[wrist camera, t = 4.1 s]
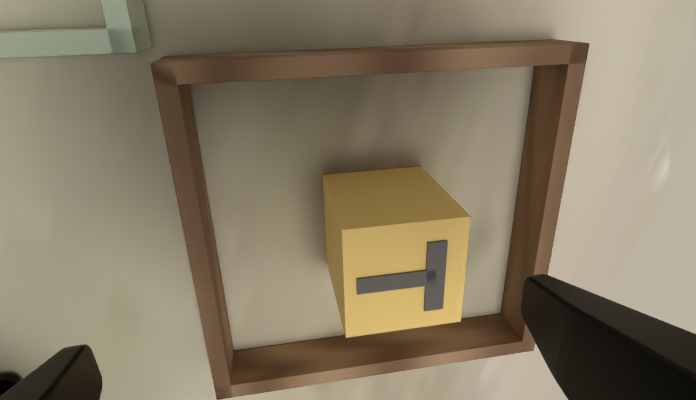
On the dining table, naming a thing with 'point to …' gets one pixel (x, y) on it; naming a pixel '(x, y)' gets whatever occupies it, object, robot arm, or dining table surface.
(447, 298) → the letter block
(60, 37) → the sage tray
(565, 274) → the dining table surface
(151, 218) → the dining table surface
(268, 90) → the dining table surface
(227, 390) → the walnut tray
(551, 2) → the dining table surface
